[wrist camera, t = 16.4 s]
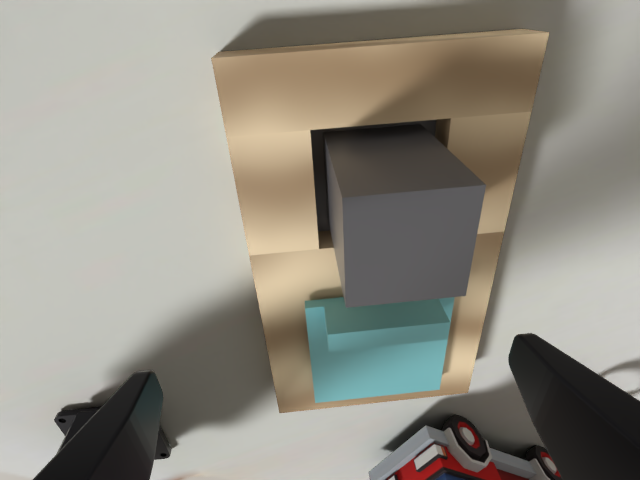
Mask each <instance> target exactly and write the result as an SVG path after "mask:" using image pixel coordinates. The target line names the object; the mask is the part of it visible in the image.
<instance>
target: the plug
mask: <svg viewBox="0 0 640 480" xmlns="http://www.w3.org/2000/svg"><path fill="white" fill-rule="evenodd" d="M323 138H324V156H325V174H326V192H327V210H328V221H329V226H330V231H331V236H332V241H333V246H334V251H335V256H336V261H337V266H338V271H339V276H340V281H341V286H342V291H343V296H344V301H345V306H346V308H350V307H360V306H370V305H380V304H390V303H400V302H410V301H420V300H430V299H440V298H450V297H461V296H466V292H467V287H468V281H469V276H470V270H471V265H472V259H473V254H474V249H475V243H476V238H477V232H478V227H479V221H480V216H481V211H482V205H483V200H484V194H485V189H486V184H485V183H484V182H483V181H481V180H480V179H479V178H478V177H477V176H476V175H475V174H474V173H473V172H472V171H471V170H470V169H469V168H467V167H466V166H465V165H464V164H463V163H462V162H461V161H460V160H459V159H458V158H457V157H456V156H455V155H453V154H452V153H451V152H450V151H449V150H448V149H447V148H446V147H445V146H444V145H443V144H442V143H441V142H439V141H438V140H437V139H436V138H435V137H434V136H433V135H432V134H431V133H430V132H429V131H428V130H427V129H425V128H424V127H423V126H422V125H421V124H414V125H402V126H390V127H378V128H366V129H354V130H342V131H330V132H323Z"/></svg>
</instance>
